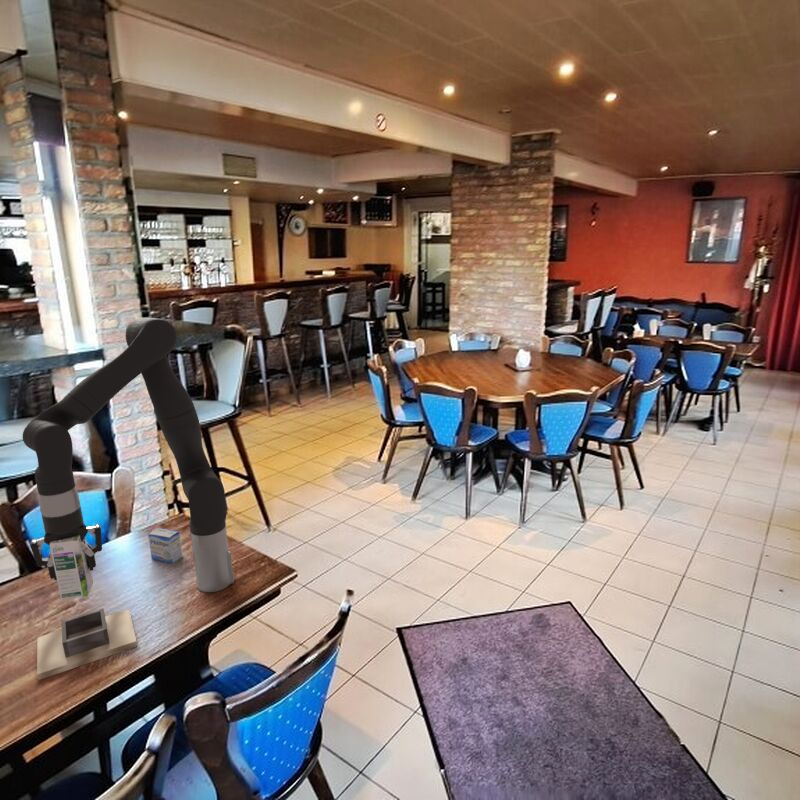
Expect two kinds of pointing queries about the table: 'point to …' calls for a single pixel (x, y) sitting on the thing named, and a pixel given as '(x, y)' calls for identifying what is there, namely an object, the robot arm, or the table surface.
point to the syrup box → (71, 568)
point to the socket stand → (84, 641)
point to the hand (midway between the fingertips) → (74, 573)
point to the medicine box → (165, 545)
